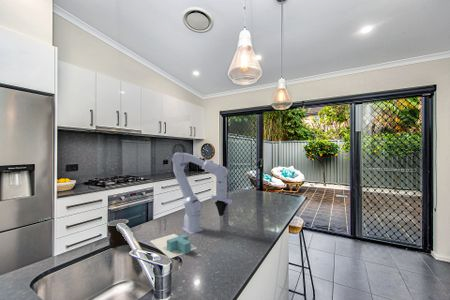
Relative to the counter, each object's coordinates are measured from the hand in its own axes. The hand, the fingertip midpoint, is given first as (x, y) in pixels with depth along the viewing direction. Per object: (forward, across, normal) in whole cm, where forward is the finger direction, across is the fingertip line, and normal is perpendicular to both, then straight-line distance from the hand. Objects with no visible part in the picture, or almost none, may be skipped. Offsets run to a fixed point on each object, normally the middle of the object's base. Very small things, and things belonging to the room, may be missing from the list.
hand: (221, 215), depth 102 cm
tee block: (+9, +1, -24) cm, 26 cm away
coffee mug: (+10, -22, -44) cm, 50 cm away
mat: (+10, -6, -25) cm, 27 cm away
